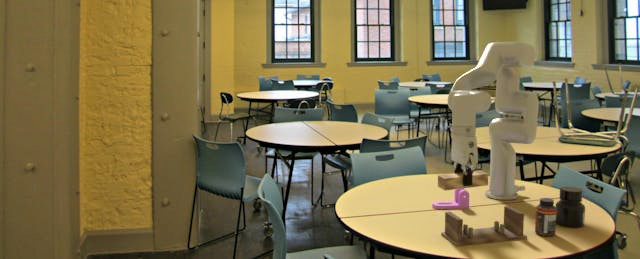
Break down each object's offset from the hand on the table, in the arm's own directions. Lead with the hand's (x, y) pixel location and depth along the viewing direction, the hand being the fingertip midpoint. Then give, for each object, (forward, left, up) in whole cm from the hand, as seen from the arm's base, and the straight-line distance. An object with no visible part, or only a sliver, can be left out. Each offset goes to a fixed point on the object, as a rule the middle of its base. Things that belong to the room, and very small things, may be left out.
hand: (463, 182), depth 172 cm
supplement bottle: (-19, +18, -14) cm, 30 cm away
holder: (+1, +15, -14) cm, 20 cm away
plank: (0, 0, -1) cm, 1 cm away
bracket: (-5, -17, -14) cm, 23 cm away
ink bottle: (-33, +12, -14) cm, 38 cm away
